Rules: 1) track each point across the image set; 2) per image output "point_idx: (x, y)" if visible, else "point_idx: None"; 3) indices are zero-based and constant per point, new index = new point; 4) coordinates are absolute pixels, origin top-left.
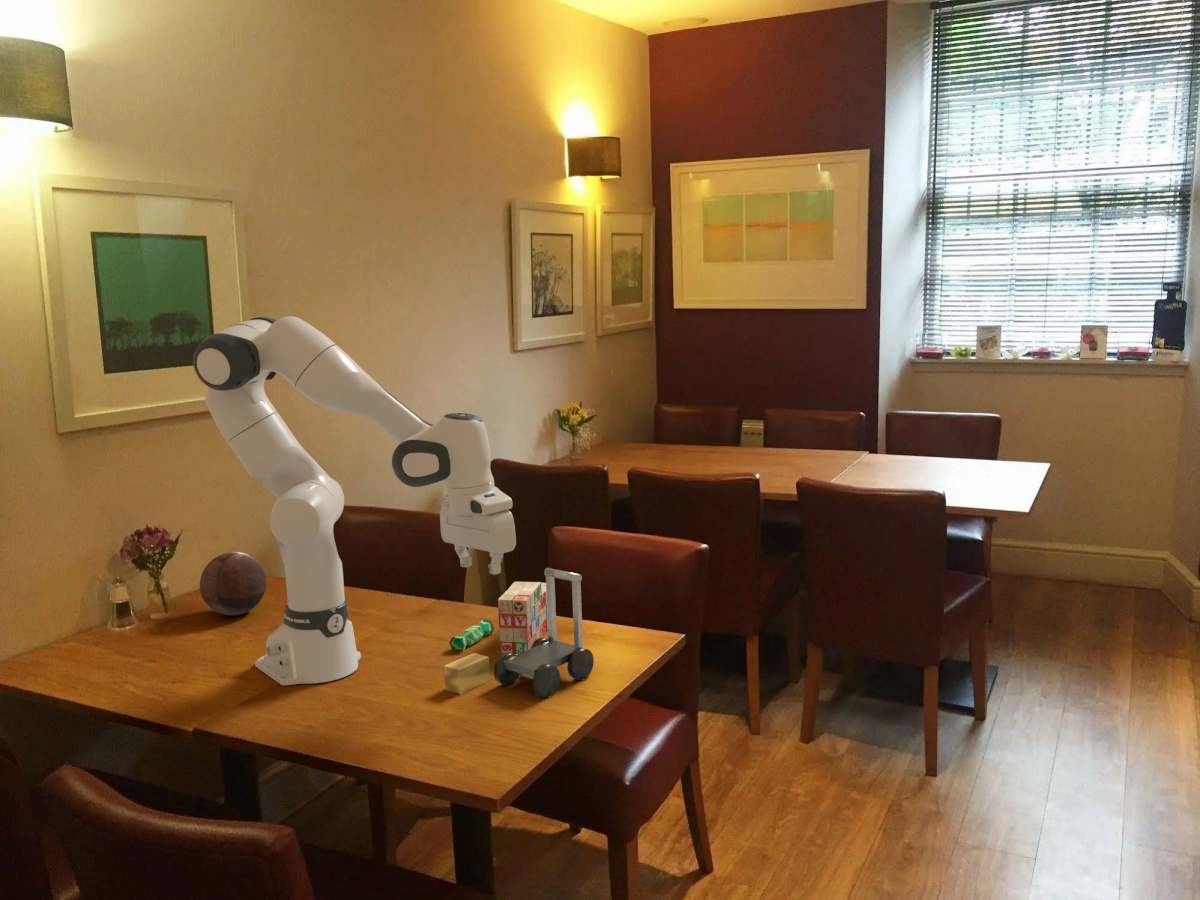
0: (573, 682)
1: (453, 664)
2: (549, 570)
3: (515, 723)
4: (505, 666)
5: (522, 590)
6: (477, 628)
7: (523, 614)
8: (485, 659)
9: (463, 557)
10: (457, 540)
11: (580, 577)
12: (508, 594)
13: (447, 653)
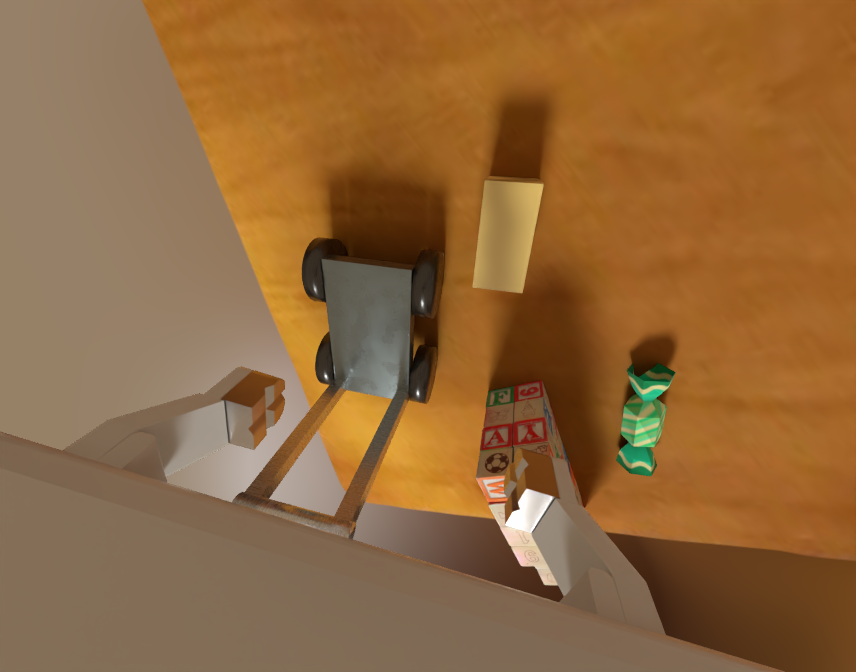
0: None
1: (524, 205)
2: None
3: (295, 122)
4: (409, 266)
5: None
6: (634, 435)
7: (487, 449)
8: (474, 276)
9: (549, 510)
10: (569, 665)
11: None
12: None
13: (662, 346)
